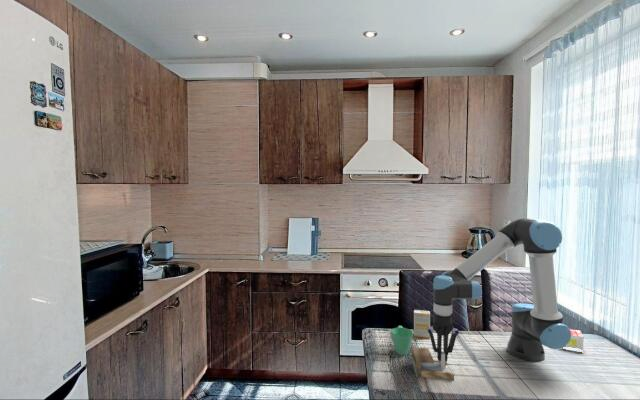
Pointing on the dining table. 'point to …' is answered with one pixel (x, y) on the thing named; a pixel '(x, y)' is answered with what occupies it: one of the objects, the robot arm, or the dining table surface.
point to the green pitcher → (402, 339)
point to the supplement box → (421, 323)
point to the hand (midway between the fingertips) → (442, 367)
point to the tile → (431, 366)
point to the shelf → (435, 373)
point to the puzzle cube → (576, 339)
